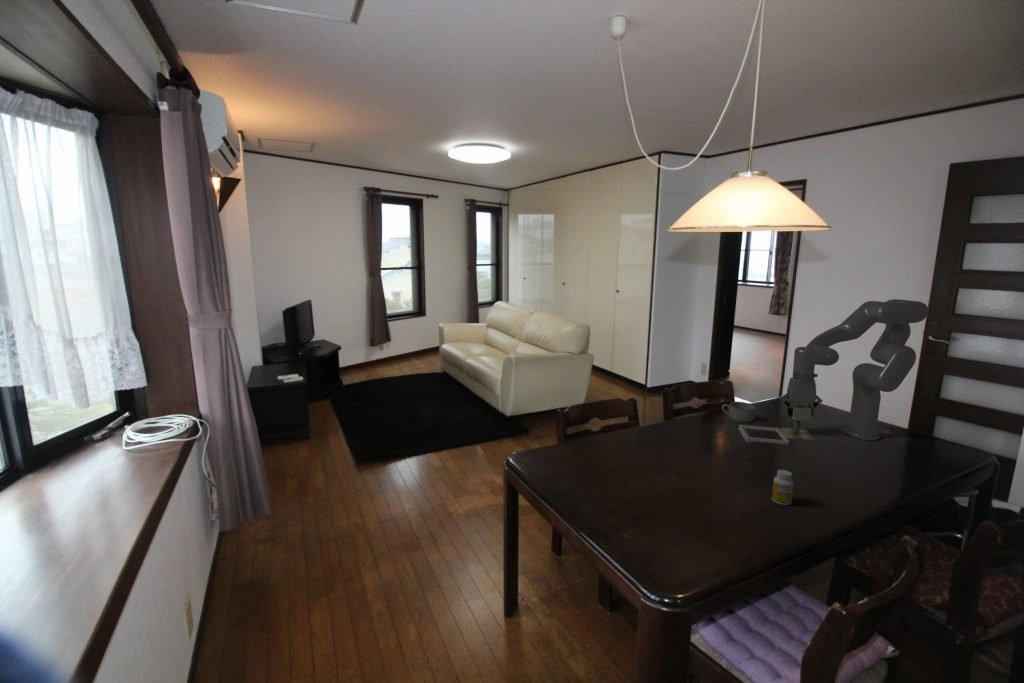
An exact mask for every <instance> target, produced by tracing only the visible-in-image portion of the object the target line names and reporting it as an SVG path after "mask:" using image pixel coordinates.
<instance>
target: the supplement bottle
mask: <svg viewBox="0 0 1024 683" xmlns="http://www.w3.org/2000/svg"><path fill="white" fill-rule="evenodd" d="M792 478H793V473H792V472H791V471H788V470H786V469H777V472H776V476H774V478H773V484H772V493H771V494H772V495H771V500H772V501H773V502H774V503H776V504H778V505H783V506H789V505H791V504H792V501H793V495H794V494H793V493H794V485H795V483H794V480H793V479H792Z"/></svg>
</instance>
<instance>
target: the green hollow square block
mask: <svg viewBox="0 0 1024 683" xmlns="http://www.w3.org/2000/svg"><path fill="white" fill-rule="evenodd" d="M792 408H793V416H792V417H790V418H791V419H792V420H793V421H800V422H802V421H804V422H811V421H812V416H811V413H812V409H810V408H809V405H808V404H798V403H794V405H793V407H792Z"/></svg>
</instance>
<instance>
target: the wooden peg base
mask: <svg viewBox="0 0 1024 683" xmlns="http://www.w3.org/2000/svg"><path fill="white" fill-rule="evenodd" d="M793 422H794V423H793V428H790V427H789V428H788V427H776V428H778V429H779V430H780V431H781V432H782V433H783V435H784V436H785V437H786V438H787V439H798V440H812V441H817V438H816V437H814V435H813V434H812V433H810V431H809V430H807V429H800V428H801V420H793Z"/></svg>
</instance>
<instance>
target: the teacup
mask: <svg viewBox="0 0 1024 683" xmlns="http://www.w3.org/2000/svg"><path fill="white" fill-rule="evenodd" d="M725 407H727V408H728V410H729V412H728V411H726V409H725ZM721 410H722V412H723V413H724V414H726V415H727V416H728V417H730V418H731V420H732V421H734V422H735V423H738V424H742V423H751V422H752V421H753V420H754V419H755V412H756V411H755V410H756V407H755V405H753V404H751V403H748V402H745V401H732V402H730V404H728V403H723V404H722V406H721Z"/></svg>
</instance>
